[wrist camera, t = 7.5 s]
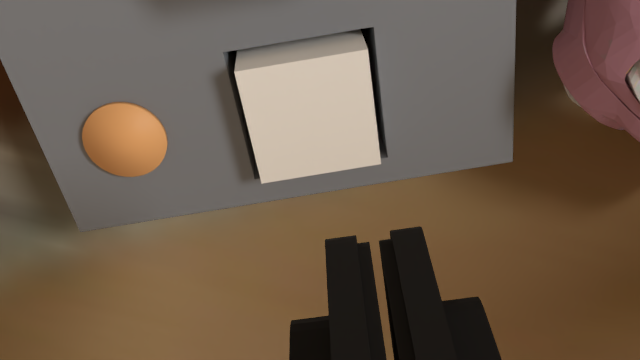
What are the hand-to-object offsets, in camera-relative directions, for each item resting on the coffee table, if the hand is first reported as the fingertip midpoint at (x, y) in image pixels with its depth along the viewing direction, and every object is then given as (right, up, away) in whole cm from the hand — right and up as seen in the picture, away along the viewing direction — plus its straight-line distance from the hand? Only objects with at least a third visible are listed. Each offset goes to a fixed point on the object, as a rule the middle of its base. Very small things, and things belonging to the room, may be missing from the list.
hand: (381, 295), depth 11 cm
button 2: (-2, +5, +9) cm, 10 cm away
